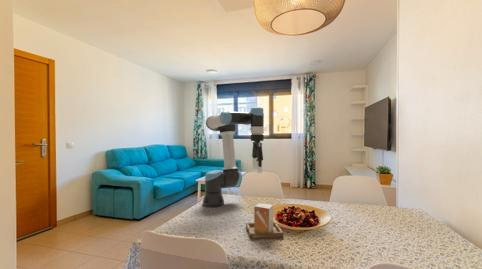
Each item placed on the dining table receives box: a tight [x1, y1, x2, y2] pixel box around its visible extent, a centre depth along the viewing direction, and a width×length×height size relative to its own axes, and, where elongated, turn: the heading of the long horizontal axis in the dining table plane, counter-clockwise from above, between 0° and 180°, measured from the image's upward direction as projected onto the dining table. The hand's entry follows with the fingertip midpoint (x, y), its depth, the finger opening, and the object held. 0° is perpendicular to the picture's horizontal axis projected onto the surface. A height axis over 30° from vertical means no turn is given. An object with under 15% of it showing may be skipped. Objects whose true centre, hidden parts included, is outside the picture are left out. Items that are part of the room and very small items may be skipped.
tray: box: [245, 222, 284, 241], centre depth 118 cm, size 14×16×2 cm
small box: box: [253, 202, 274, 233], centre depth 117 cm, size 8×6×13 cm
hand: (257, 170), depth 134 cm, fingers open, 13 cm apart
